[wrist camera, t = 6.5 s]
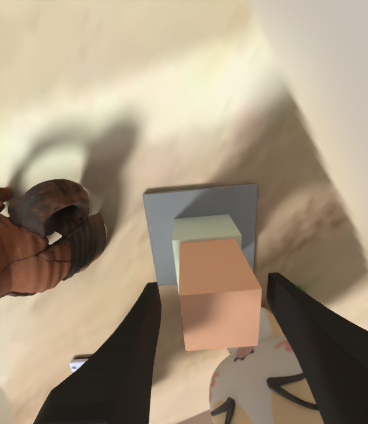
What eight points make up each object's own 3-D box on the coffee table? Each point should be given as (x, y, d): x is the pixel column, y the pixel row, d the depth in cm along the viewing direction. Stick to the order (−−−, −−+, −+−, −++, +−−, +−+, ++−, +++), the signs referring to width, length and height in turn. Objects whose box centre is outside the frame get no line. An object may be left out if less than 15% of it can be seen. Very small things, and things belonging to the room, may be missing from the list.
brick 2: (234, 282, 15) (257, 345, 11) (184, 286, 15) (185, 351, 11) (234, 238, 14) (262, 289, 9) (179, 242, 14) (178, 295, 9)
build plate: (251, 275, 21) (253, 278, 20) (158, 282, 21) (158, 285, 20) (255, 183, 17) (257, 184, 17) (143, 193, 17) (142, 195, 17)
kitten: (288, 256, 20) (542, 537, 6) (325, 313, 23) (551, 590, 9) (174, 320, 23) (162, 605, 9) (219, 363, 26) (264, 628, 12)
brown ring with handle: (89, 279, 21) (-11, 336, 14) (46, 214, 23) (-63, 236, 16) (145, 214, 15) (19, 256, 8) (81, 131, 17) (-70, 107, 10)
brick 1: (228, 260, 19) (240, 289, 16) (179, 264, 19) (178, 294, 16) (228, 214, 18) (241, 234, 14) (173, 218, 18) (172, 240, 14)
